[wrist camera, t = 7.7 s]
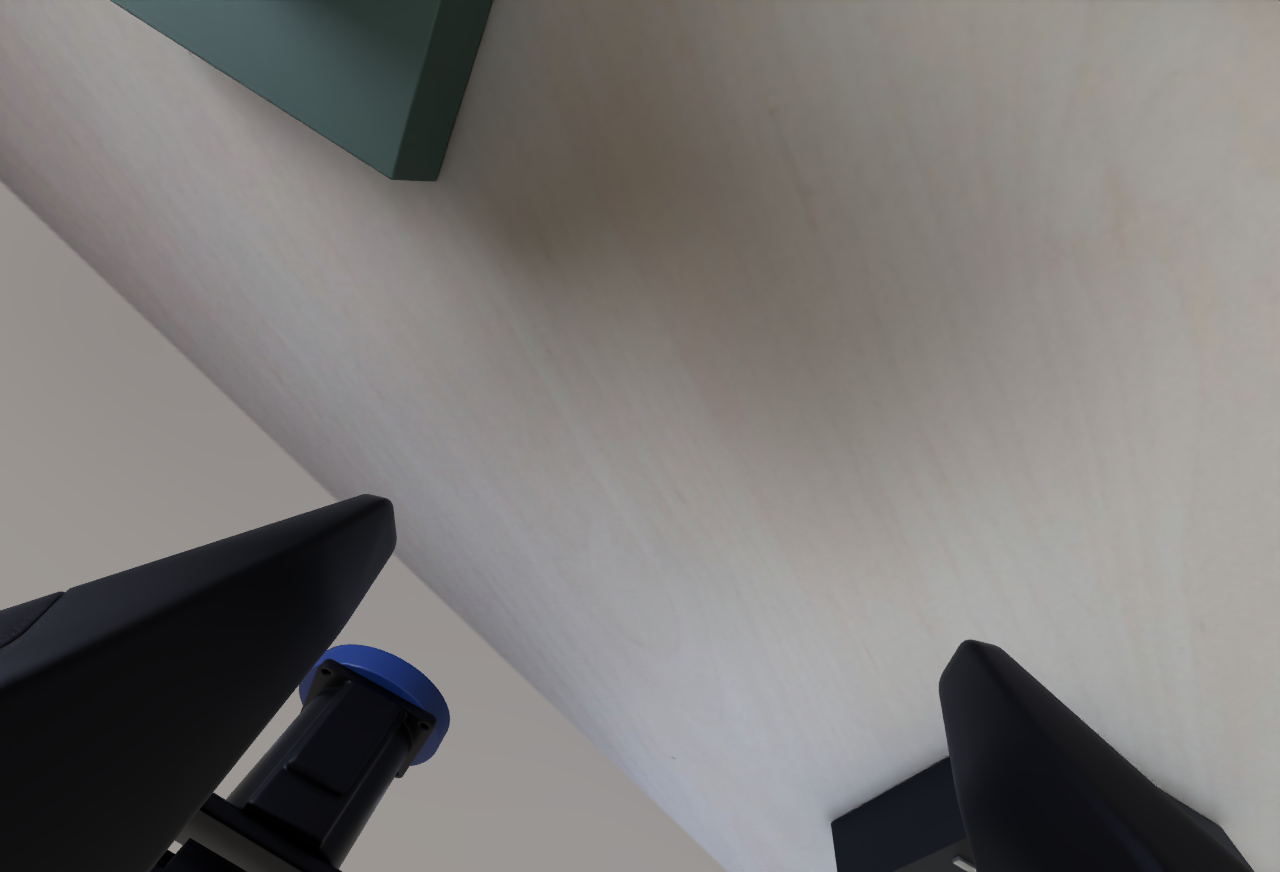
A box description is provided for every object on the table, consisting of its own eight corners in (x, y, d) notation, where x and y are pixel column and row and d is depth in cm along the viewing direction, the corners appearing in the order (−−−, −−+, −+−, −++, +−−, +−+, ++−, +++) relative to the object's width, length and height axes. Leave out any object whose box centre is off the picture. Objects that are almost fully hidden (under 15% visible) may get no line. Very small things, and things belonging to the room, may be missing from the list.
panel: (986, 912, 26) (1014, 997, 24) (830, 822, 26) (840, 899, 23) (1221, 826, 21) (1294, 925, 18) (1031, 709, 20) (1076, 792, 17)
